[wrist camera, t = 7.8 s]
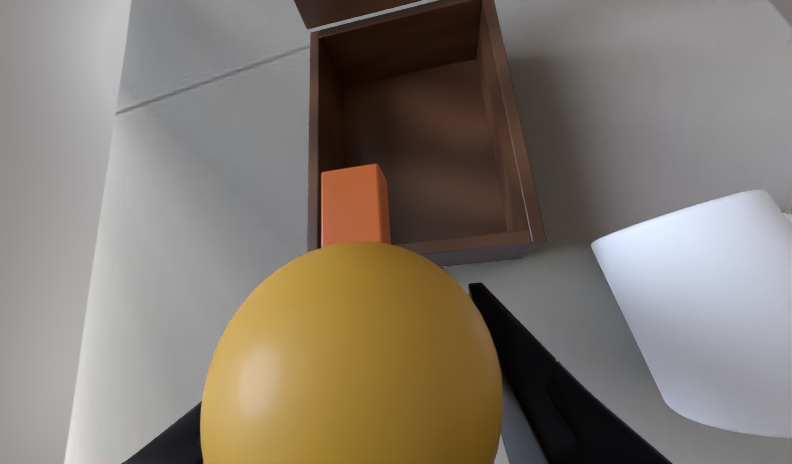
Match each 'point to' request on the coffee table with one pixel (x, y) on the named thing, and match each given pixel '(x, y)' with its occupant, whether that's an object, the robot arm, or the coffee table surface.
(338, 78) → the chest
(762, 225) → the mug
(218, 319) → the coffee table surface
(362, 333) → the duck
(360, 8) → the chest lid
